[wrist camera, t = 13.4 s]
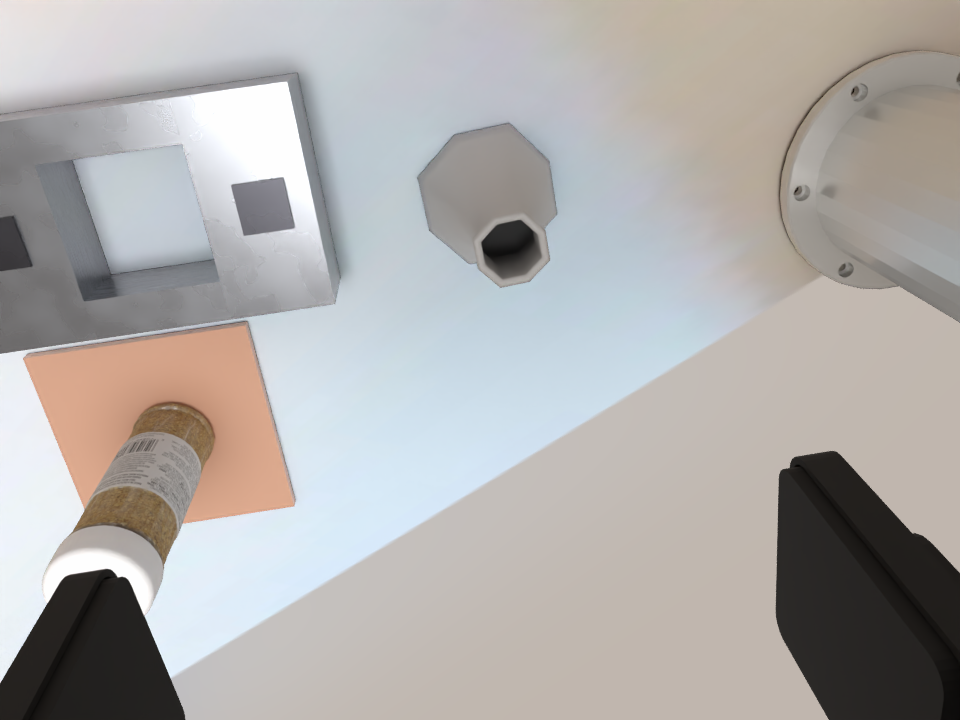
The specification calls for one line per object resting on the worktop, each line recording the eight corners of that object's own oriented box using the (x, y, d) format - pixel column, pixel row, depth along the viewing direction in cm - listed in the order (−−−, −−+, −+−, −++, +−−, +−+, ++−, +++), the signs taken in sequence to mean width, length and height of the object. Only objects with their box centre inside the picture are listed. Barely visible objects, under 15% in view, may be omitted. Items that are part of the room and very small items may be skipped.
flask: (515, 97, 41) (549, 128, 32) (578, 218, 44) (625, 278, 34) (393, 170, 42) (391, 220, 32) (462, 284, 44) (478, 359, 35)
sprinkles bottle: (143, 471, 47) (53, 641, 35) (126, 402, 45) (24, 557, 33) (223, 465, 47) (161, 631, 35) (209, 396, 45) (139, 547, 33)
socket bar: (297, 72, 39) (286, 82, 35) (340, 277, 44) (335, 305, 40) (-56, 122, 39) (-105, 136, 35) (25, 324, 43) (-11, 356, 39)
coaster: (247, 321, 44) (245, 325, 44) (295, 500, 49) (294, 506, 49) (27, 353, 44) (23, 358, 43) (99, 530, 49) (96, 537, 48)
